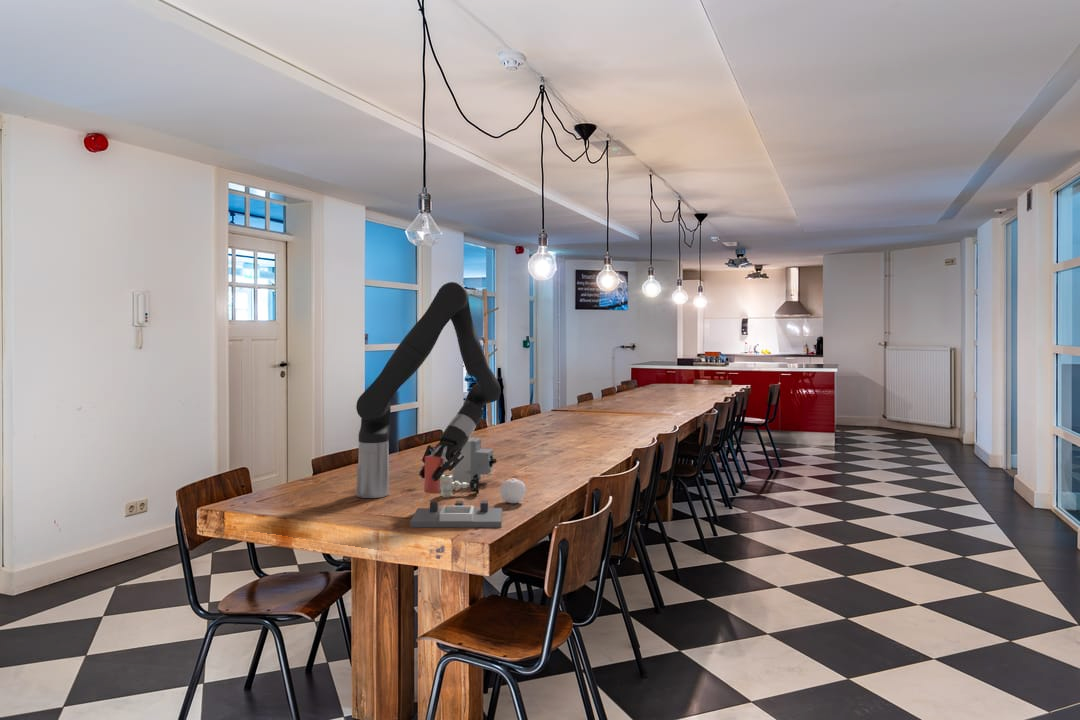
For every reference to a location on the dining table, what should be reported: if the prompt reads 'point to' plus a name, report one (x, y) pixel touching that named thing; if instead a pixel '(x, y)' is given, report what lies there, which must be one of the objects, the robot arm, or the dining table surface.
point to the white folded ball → (512, 490)
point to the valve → (457, 485)
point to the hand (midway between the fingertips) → (427, 477)
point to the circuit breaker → (473, 462)
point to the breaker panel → (457, 516)
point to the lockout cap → (430, 468)
